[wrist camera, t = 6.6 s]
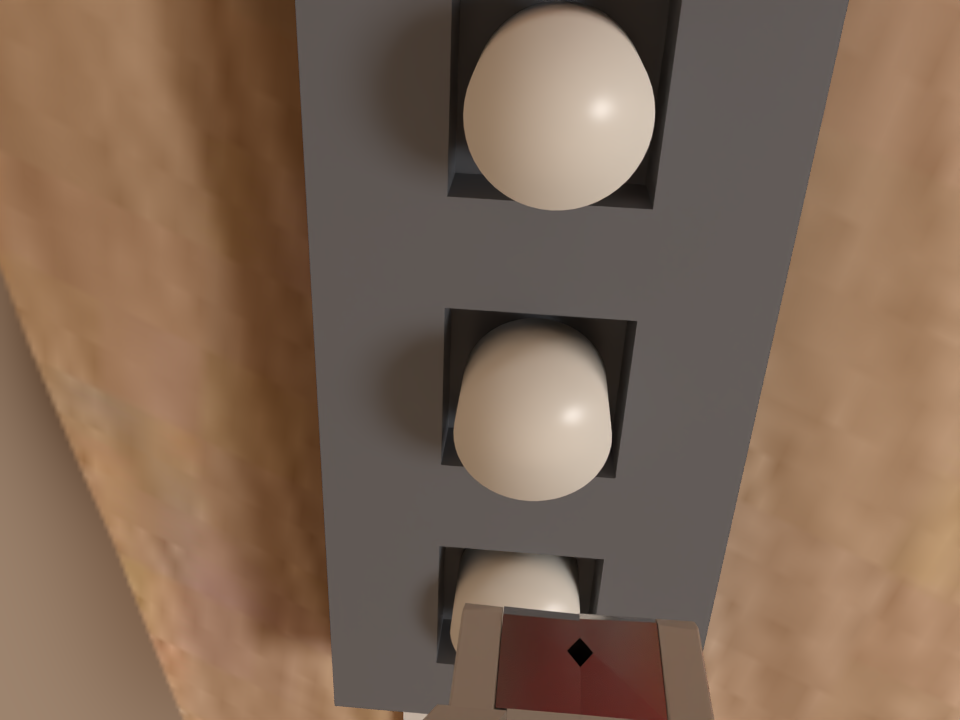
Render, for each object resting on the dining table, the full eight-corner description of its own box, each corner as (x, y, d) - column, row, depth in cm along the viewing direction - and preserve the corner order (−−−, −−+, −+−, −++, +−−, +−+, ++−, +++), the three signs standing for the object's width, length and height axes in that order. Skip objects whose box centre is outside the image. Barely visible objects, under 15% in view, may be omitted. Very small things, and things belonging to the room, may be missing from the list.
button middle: (465, 313, 24) (455, 362, 22) (613, 323, 24) (621, 374, 21) (461, 436, 26) (451, 494, 23) (598, 447, 26) (603, 506, 23)
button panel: (319, -161, 21) (285, -167, 18) (838, -138, 20) (880, -141, 18) (352, 640, 33) (334, 705, 31) (673, 668, 33) (683, 737, 30)
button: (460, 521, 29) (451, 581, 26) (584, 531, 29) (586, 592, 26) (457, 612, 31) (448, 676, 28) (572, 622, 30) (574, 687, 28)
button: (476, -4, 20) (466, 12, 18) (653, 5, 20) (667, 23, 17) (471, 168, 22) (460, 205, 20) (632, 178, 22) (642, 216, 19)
